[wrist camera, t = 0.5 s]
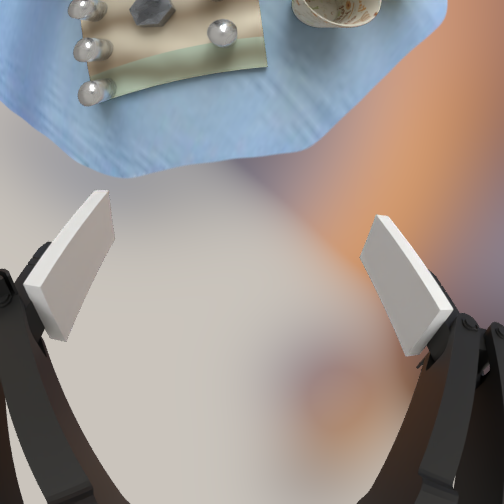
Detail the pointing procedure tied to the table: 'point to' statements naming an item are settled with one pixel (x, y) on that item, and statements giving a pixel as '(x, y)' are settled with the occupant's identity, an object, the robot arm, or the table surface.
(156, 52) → the board
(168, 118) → the table surface
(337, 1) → the mug
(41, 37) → the table surface
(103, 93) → the spacers
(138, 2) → the gray polyhedron
